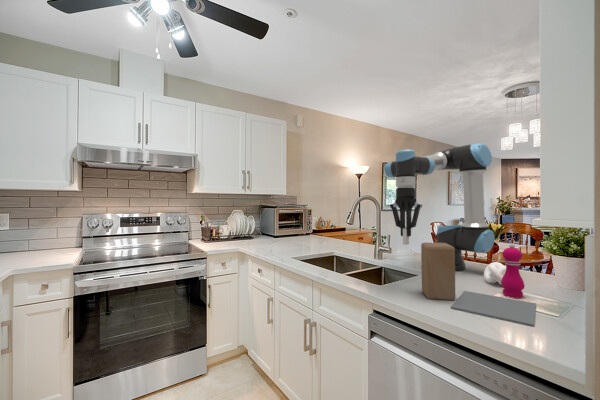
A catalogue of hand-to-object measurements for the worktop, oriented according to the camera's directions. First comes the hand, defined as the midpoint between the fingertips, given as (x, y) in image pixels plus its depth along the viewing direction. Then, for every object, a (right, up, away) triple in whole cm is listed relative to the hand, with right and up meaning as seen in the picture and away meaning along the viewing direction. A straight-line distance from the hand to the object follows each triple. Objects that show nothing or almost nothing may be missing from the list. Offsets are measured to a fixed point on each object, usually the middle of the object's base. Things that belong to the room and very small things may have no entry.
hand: (405, 244), depth 117 cm
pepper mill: (+38, -19, -9) cm, 43 cm away
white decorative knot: (+44, -19, +6) cm, 48 cm away
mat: (+23, -19, -20) cm, 36 cm away
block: (+9, -19, -8) cm, 23 cm away
